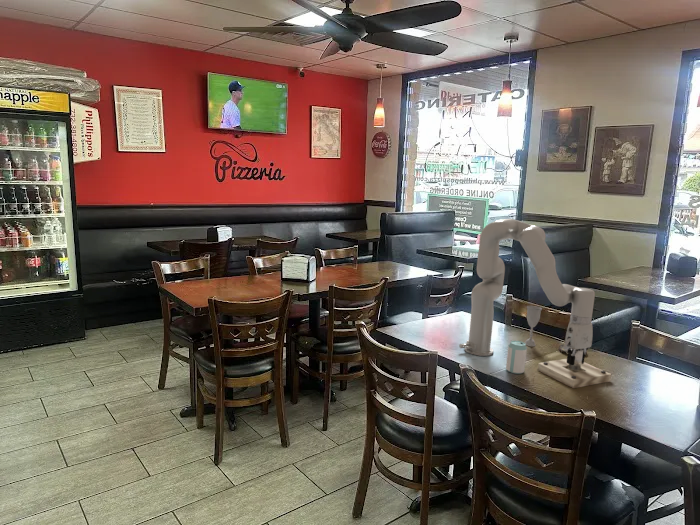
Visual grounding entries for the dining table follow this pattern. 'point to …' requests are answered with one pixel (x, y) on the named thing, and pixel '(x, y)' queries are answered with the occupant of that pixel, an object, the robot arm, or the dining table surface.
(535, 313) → the chalice
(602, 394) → the dining table surface
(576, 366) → the bushing
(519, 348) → the can
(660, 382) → the dining table surface
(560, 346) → the burger
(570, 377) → the plate
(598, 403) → the dining table surface
